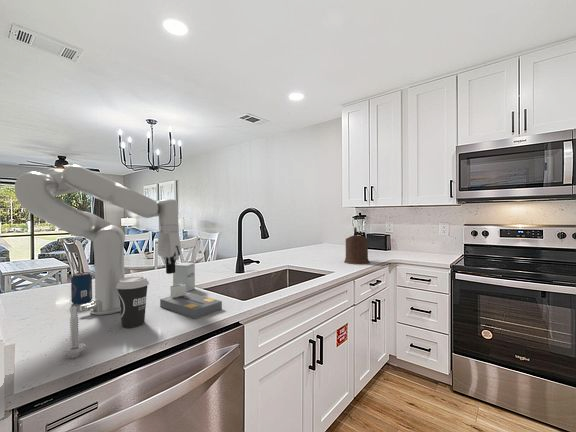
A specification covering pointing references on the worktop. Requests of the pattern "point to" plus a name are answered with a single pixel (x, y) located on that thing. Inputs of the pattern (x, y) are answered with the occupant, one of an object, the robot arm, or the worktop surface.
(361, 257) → the dark brown bell
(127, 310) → the coffee cup
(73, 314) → the screw
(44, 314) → the worktop surface
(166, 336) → the worktop surface
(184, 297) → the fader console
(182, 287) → the fader knob
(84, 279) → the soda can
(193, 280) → the supplement box
